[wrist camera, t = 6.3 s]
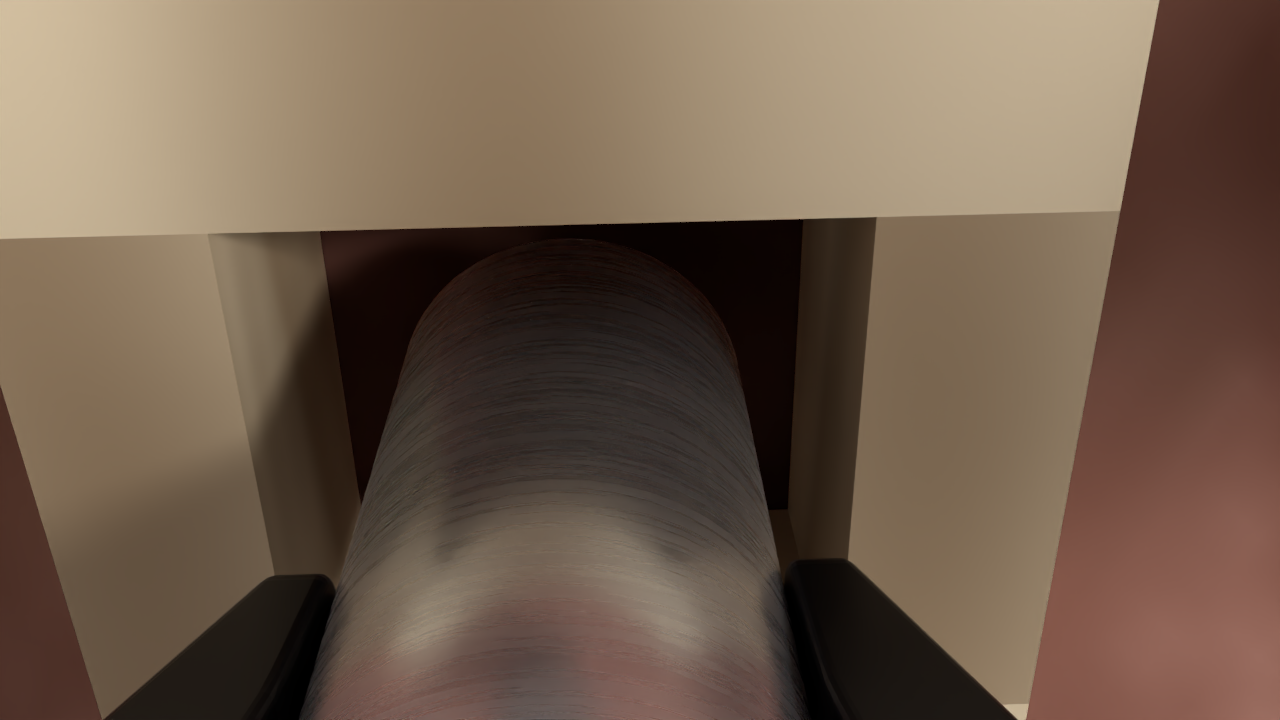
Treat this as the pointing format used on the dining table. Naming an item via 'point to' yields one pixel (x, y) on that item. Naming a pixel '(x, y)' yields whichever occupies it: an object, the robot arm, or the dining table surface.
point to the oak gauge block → (553, 195)
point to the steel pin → (563, 512)
